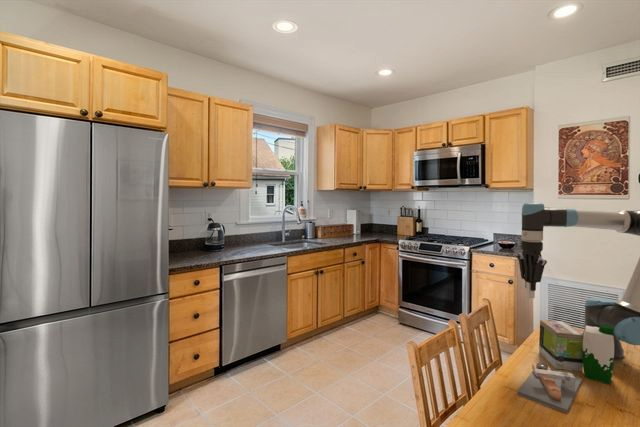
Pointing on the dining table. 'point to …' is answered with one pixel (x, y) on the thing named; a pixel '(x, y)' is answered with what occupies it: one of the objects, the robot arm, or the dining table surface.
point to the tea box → (561, 345)
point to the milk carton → (598, 353)
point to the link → (550, 385)
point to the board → (539, 393)
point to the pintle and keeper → (557, 377)
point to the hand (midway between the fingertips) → (530, 297)
